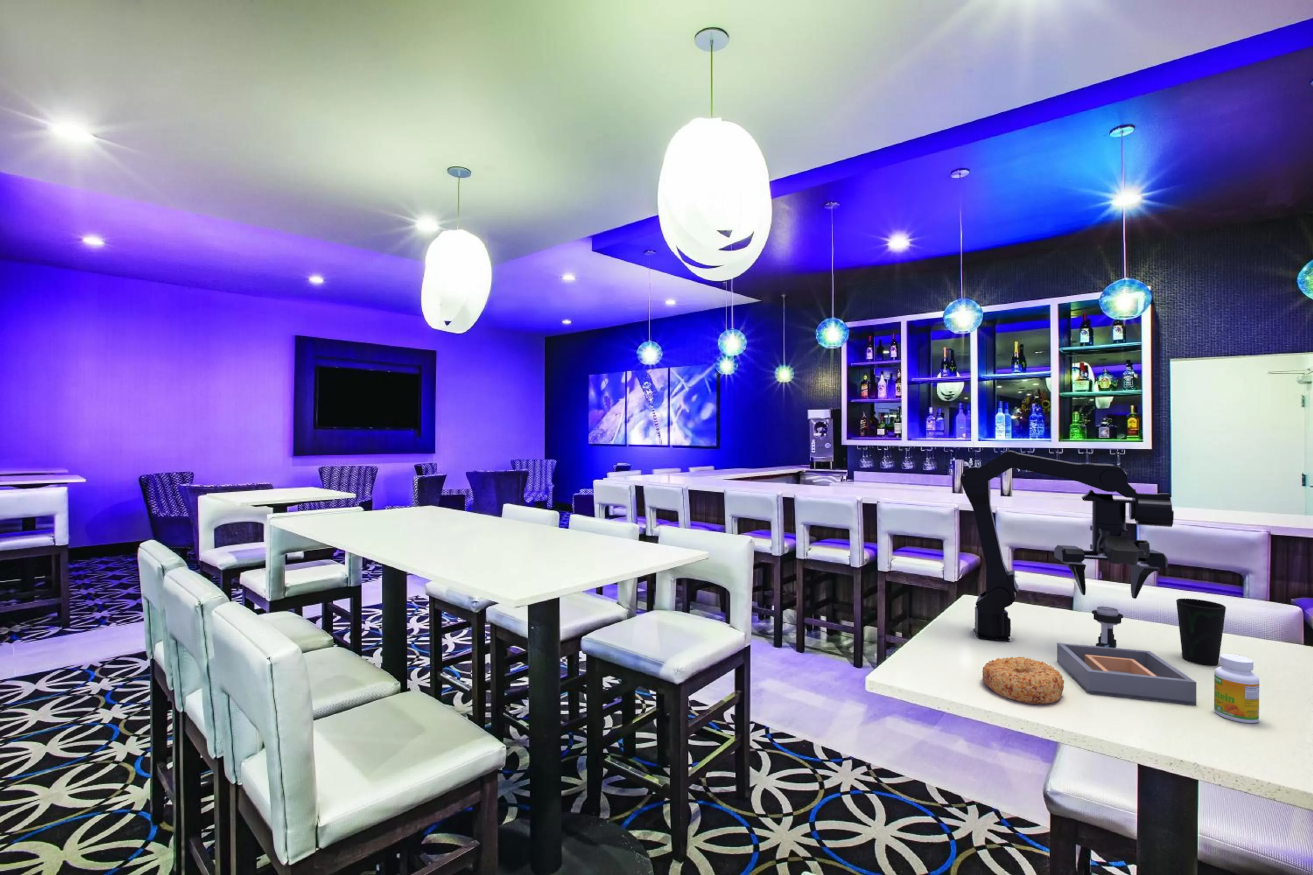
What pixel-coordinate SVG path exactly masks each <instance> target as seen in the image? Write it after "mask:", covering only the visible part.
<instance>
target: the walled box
mask: <svg viewBox="0 0 1313 875" xmlns="http://www.w3.org/2000/svg"><path fill="white" fill-rule="evenodd" d="M1056 663H1057V664H1058V665H1059V666H1060V667H1061V668H1062V669H1063V670H1064V671H1065V672H1066V673H1067V674H1068V675H1069V676H1070V677H1071V678H1072V679H1073V680H1074V681H1075V682H1076V683H1077V684H1078V685H1079V686H1080V687H1081V688H1082V689H1083V690H1084V691H1085V692H1086V693H1087V694H1088V695H1097V696H1098V695H1099V696H1108V697H1115V698H1124V699H1125V698H1126V699H1135V700H1144V701H1152V702H1162V703H1171V704H1177V705H1178V704H1179V705H1180V704H1181V705H1189V706H1197V682H1196V681H1195V680H1193V679H1192V678H1191V677H1189V676H1188V675H1187V674H1185V673H1183V672H1182V671H1181V670H1179V669H1177V668H1176V667H1175V666H1174V665H1172V664H1170V663H1168V662H1167V661H1165V660H1164V659H1162V658H1161V657H1159V656H1158V655H1156V654H1155V653H1153V652H1152V651H1150V650H1142V649H1130V648H1120V647H1119V648H1118V647H1116V648H1110V647H1099V646H1096V645H1085V644H1076V643H1067V642H1066V643H1064V642H1057V643H1056Z"/></svg>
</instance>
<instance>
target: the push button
mask: <svg viewBox="0 0 1313 875" xmlns="http://www.w3.org/2000/svg"><path fill="white" fill-rule="evenodd" d="M1091 614H1092V615H1093V620H1095V621H1097V623H1099V624H1100V634H1099V635H1100V636H1098V637H1097V642H1096V643H1095V646H1099V647H1110V648H1117V646H1118V645H1117V639H1115V634H1114V626H1118V625H1119V624H1122V619H1124V615H1123V614H1122V613H1119V610H1118V609H1117V608H1114V607H1109V606H1104V605H1103V606H1101V605H1100V606H1097V607H1096V609H1093V610H1091Z"/></svg>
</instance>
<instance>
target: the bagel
mask: <svg viewBox="0 0 1313 875" xmlns="http://www.w3.org/2000/svg"><path fill="white" fill-rule="evenodd" d="M981 673H982V681H983V683H984V684H985V685H986V686H987V688H989V689H990V690H992V691H993V692H995V693H996V694H998V695H999V696H1002V697H1004V698H1006V699H1009V700H1013V701H1017V702H1020V703H1025V704H1029V705H1044V704H1052V703H1055V702H1057V701H1059V700H1060V699H1061V697H1062V695H1063V691H1064V688H1065V680H1064V678H1063V675H1062V674H1061V673H1060V671H1059V670H1057V669H1055V667H1054V666H1052V665H1049V664H1048V663H1046V662H1043V661H1040V660H1036V659H1031V658H1028V657H1026V658H1025V657H1024V656H1016V657H1014V656H1013V657H1012V656H1011V657H1003V658H999V657H997V658H996V659H992V660H989V661H988V662H986V663H985V664H984V666H982V671H981Z"/></svg>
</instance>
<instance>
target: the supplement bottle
mask: <svg viewBox="0 0 1313 875" xmlns="http://www.w3.org/2000/svg"><path fill="white" fill-rule="evenodd" d="M1219 664H1220V665H1221V666H1216V667H1215V669H1214V672H1213V676H1214V677H1213V678H1214V680H1213V682H1214V683H1213V684H1214V686H1213V710H1214V713H1215V714H1217V715H1218V716H1221V717H1222V718H1225V719H1227V720H1229V721H1230V720H1231V721H1234V722H1237V723H1242V724H1256V723H1258V722H1259V721H1260V678H1259V677H1258V675H1257V674H1255V673H1254V672H1252V671H1253V670H1254V667H1255V666H1254V660H1253V659H1251V658H1249V657H1246V656H1243V655H1240V654H1239V655H1237V654H1232V653H1220V656H1219Z"/></svg>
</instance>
